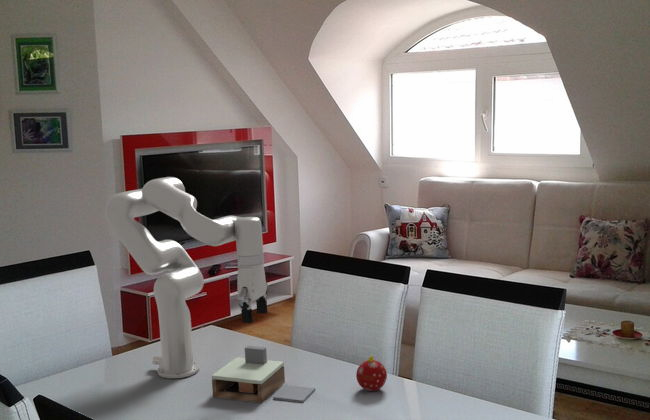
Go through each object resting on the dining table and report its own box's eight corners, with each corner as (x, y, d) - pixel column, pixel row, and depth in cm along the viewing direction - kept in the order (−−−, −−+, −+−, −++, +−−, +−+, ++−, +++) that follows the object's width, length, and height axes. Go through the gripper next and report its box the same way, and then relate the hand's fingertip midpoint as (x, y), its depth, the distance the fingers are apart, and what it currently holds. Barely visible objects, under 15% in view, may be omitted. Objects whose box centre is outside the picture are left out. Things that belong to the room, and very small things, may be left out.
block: (239, 392, 204) (238, 376, 204) (246, 386, 209) (245, 371, 208) (253, 393, 203) (252, 378, 202) (260, 387, 207) (259, 372, 206)
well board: (212, 396, 201) (211, 379, 201) (238, 377, 215) (237, 361, 215) (262, 402, 196) (261, 385, 195) (284, 382, 210) (284, 365, 209)
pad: (273, 399, 198) (273, 396, 198) (286, 386, 207) (286, 384, 206) (303, 402, 195) (303, 400, 195) (315, 390, 203) (315, 388, 203)
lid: (211, 378, 200) (210, 360, 200) (237, 360, 215) (236, 342, 214) (261, 384, 195) (260, 365, 194) (284, 364, 209) (283, 346, 209)
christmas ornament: (350, 391, 201) (349, 357, 200) (367, 382, 208) (366, 348, 207) (376, 398, 196) (375, 363, 195) (392, 388, 203) (392, 354, 202)
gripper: (252, 254, 215) (256, 309, 217) (225, 266, 199) (229, 326, 201) (275, 254, 212) (279, 310, 214) (249, 266, 196) (253, 327, 198)
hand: (255, 317), depth 208 cm, fingers open, 9 cm apart
